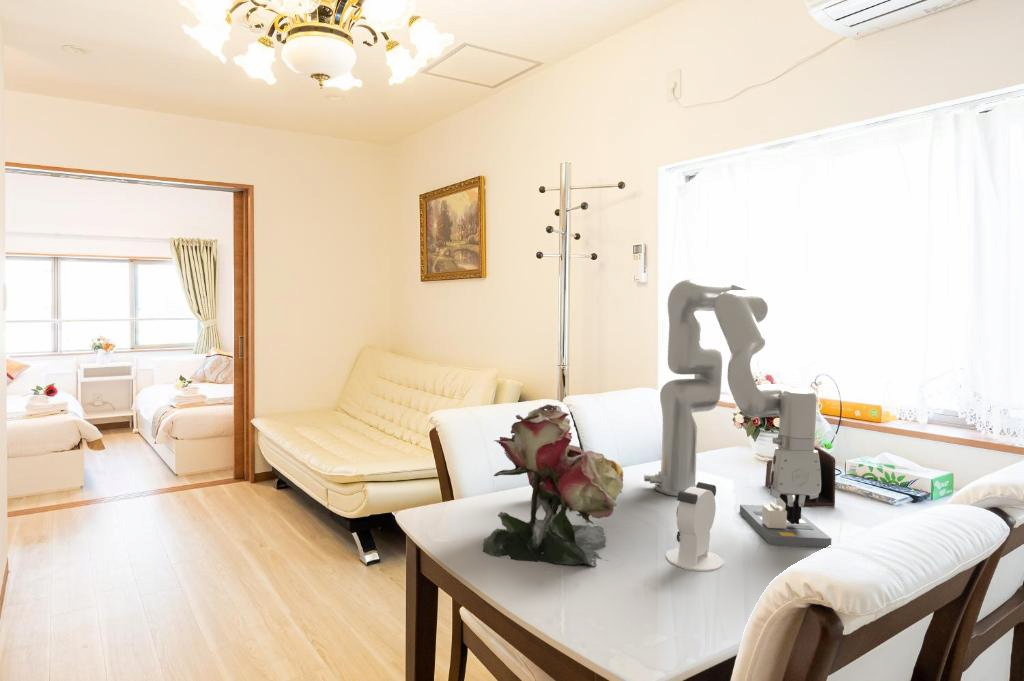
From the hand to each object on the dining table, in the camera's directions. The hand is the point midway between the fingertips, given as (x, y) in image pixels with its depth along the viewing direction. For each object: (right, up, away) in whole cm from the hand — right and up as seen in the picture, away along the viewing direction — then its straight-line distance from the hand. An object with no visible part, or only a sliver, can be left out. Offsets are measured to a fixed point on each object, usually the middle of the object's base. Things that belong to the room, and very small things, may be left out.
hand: (792, 521), depth 147 cm
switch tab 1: (-4, -1, 0) cm, 4 cm away
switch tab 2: (+3, 0, +9) cm, 9 cm away
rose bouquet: (-55, -3, -6) cm, 56 cm away
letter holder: (+16, -2, +32) cm, 36 cm away
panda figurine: (-27, -4, -15) cm, 31 cm away
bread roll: (-38, 0, +41) cm, 56 cm away
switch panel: (0, -3, +5) cm, 6 cm away
